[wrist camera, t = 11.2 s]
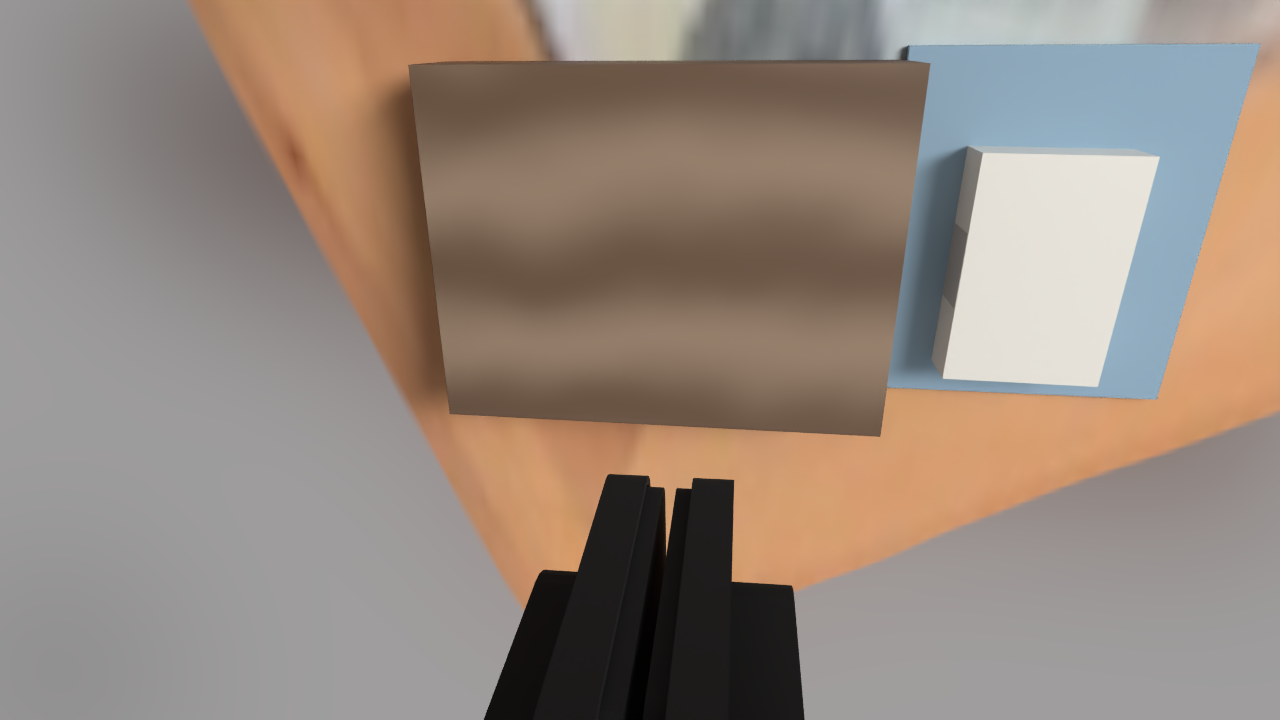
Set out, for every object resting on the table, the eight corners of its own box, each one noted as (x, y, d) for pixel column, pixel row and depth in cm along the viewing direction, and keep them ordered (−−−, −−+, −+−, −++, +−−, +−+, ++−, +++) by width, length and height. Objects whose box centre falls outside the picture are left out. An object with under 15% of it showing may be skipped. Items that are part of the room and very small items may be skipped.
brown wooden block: (448, 61, 31) (408, 64, 27) (906, 59, 28) (930, 63, 25) (479, 375, 36) (449, 414, 32) (865, 393, 34) (880, 436, 30)
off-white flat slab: (1160, 156, 27) (1133, 149, 28) (982, 152, 27) (967, 145, 29) (1098, 386, 30) (1077, 367, 32) (941, 378, 31) (930, 359, 33)
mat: (908, 45, 28) (909, 45, 28) (1255, 43, 27) (1260, 43, 27) (866, 383, 34) (867, 386, 34) (1153, 396, 32) (1156, 399, 32)
